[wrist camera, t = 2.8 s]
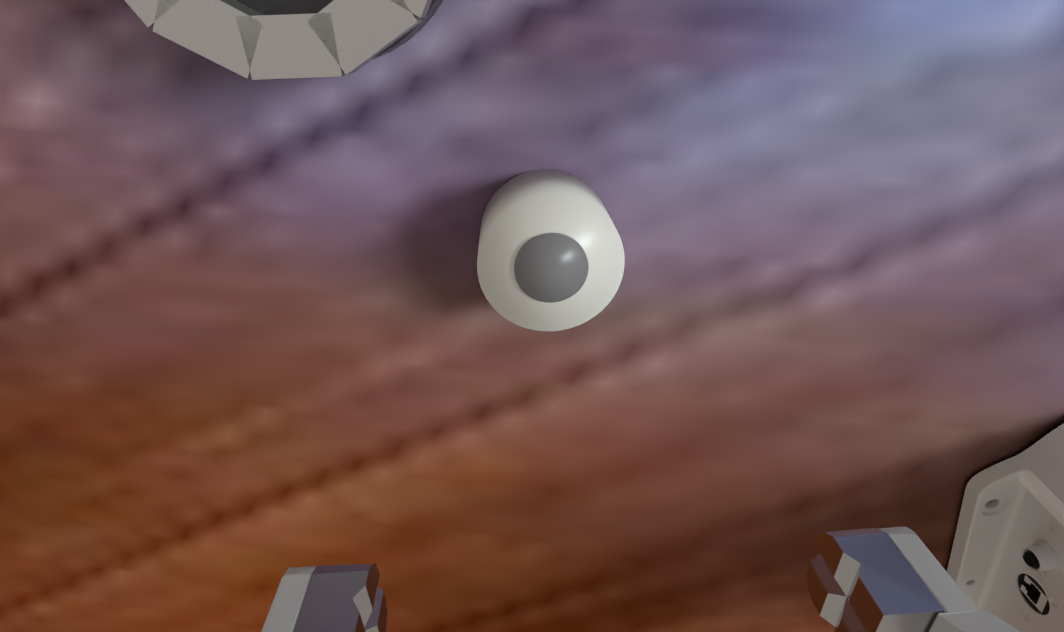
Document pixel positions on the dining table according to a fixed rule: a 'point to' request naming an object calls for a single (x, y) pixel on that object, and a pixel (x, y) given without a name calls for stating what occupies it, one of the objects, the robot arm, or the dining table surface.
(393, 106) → the dining table surface
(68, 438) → the dining table surface
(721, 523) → the dining table surface
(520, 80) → the dining table surface
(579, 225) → the cap
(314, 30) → the lens barrel
